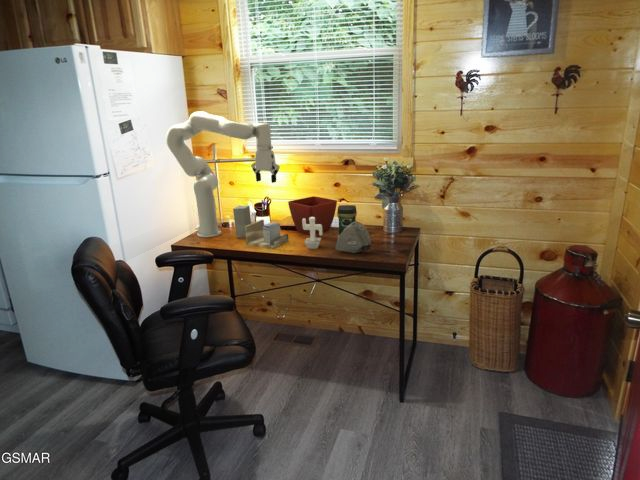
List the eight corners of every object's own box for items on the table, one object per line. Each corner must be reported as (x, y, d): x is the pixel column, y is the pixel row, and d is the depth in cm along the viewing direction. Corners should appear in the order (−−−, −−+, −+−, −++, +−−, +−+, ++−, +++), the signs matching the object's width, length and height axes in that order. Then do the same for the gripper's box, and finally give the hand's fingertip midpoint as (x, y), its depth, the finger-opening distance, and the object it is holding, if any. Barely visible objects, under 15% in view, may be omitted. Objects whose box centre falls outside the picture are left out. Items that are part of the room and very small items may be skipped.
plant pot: (314, 224, 265) (313, 195, 260) (338, 230, 251) (337, 200, 246) (288, 231, 253) (287, 201, 248) (312, 238, 239) (310, 206, 234)
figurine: (322, 249, 221) (321, 219, 217) (302, 249, 223) (301, 219, 218) (323, 245, 228) (322, 215, 224) (304, 245, 229) (303, 215, 225)
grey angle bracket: (246, 244, 233) (244, 226, 230) (263, 237, 245) (261, 219, 242) (273, 248, 225) (271, 229, 222) (288, 240, 237) (288, 222, 234)
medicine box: (274, 237, 237) (273, 221, 235) (281, 239, 235) (280, 222, 232) (263, 241, 231) (262, 225, 229) (270, 243, 229) (269, 226, 226)
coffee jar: (358, 239, 235) (357, 203, 230) (356, 244, 228) (356, 207, 222) (339, 239, 237) (338, 203, 232) (336, 243, 230) (335, 207, 224)
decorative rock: (372, 251, 217) (372, 220, 213) (369, 256, 211) (369, 224, 207) (338, 249, 222) (337, 218, 217) (334, 253, 216) (333, 222, 211)
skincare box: (247, 238, 244) (245, 208, 239) (234, 237, 245) (232, 208, 240) (253, 233, 252) (250, 204, 247) (240, 233, 253) (238, 204, 248)
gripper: (282, 147, 235) (284, 181, 240) (254, 146, 243) (257, 179, 248) (273, 149, 229) (275, 184, 234) (245, 148, 237) (248, 181, 242)
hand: (266, 181), depth 241 cm, fingers open, 9 cm apart
